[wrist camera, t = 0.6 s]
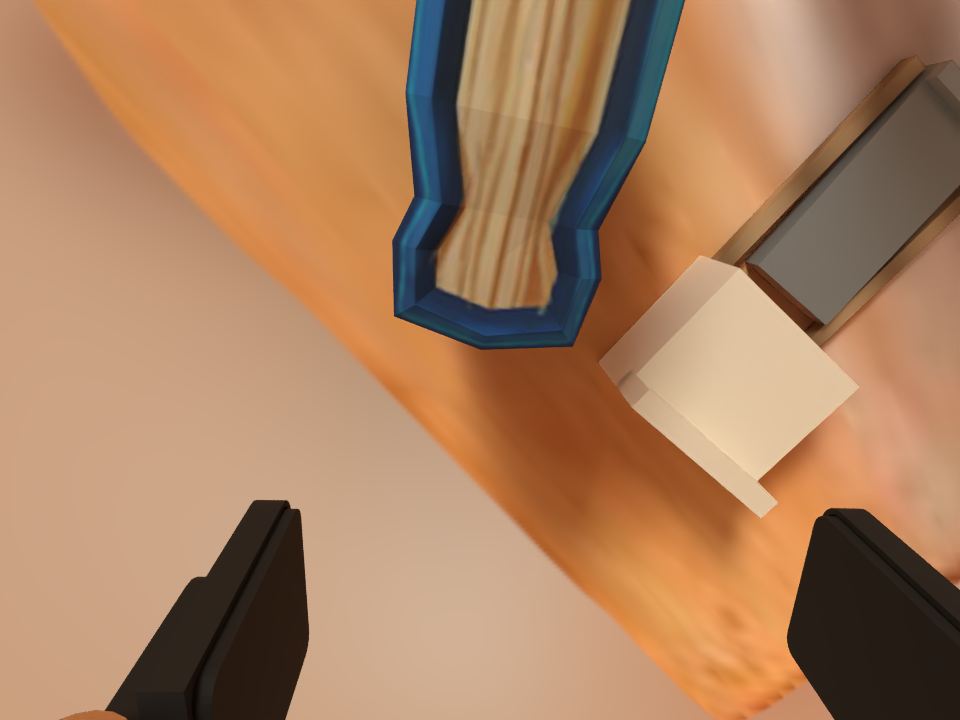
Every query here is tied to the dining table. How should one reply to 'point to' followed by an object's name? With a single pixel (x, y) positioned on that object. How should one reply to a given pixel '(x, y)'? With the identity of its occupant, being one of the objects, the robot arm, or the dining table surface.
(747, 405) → the shelf
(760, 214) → the guide rails
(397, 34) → the dining table surface
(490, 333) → the book
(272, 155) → the dining table surface
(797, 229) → the slate gray sliding drawer
